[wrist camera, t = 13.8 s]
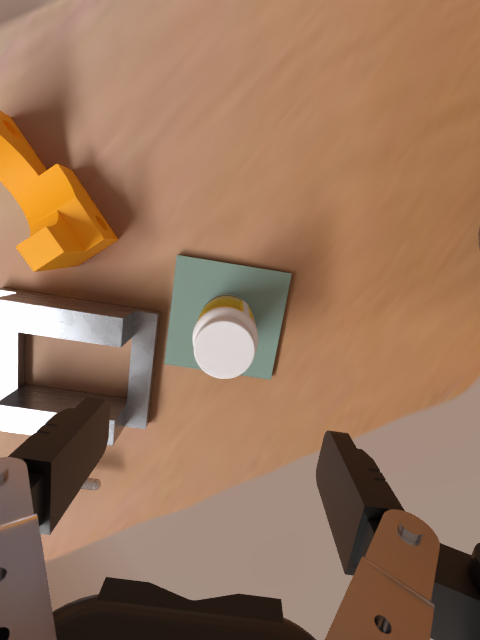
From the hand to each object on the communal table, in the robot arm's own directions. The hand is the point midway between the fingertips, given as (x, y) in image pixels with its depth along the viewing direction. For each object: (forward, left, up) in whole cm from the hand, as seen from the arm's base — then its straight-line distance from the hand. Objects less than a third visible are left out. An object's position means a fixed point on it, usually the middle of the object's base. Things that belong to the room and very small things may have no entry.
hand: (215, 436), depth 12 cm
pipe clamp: (+16, -9, -19) cm, 26 cm away
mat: (0, 0, -18) cm, 18 cm away
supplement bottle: (0, 0, -18) cm, 18 cm away
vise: (+13, +6, -18) cm, 23 cm away
